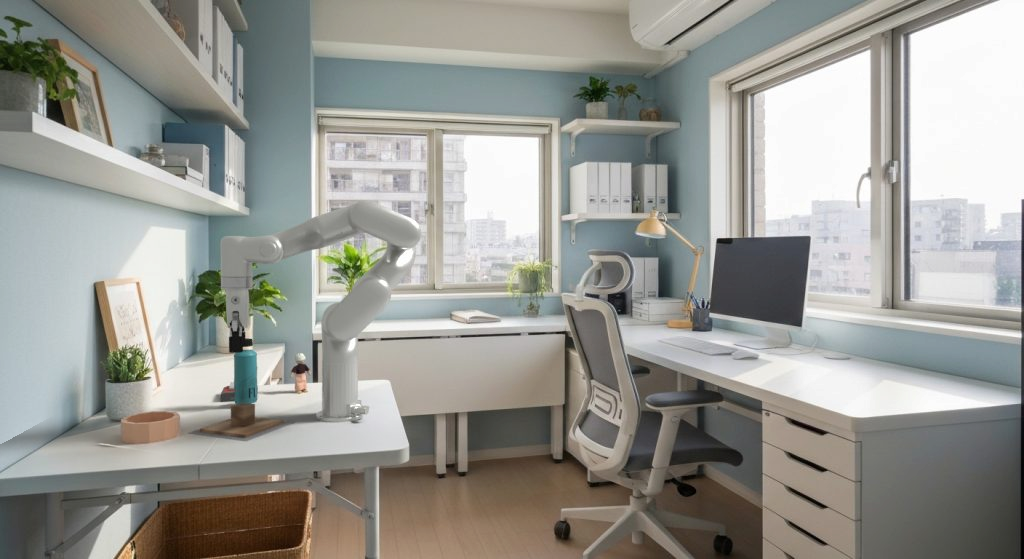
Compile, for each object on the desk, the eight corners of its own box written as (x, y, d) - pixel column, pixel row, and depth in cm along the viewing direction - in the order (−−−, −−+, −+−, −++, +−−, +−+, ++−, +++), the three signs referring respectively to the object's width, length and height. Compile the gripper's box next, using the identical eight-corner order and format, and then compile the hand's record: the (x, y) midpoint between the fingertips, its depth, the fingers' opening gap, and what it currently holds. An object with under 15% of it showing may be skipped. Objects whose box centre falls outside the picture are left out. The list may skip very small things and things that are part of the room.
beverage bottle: (249, 410, 182) (249, 340, 181) (228, 408, 183) (228, 339, 182) (262, 405, 188) (262, 337, 187) (242, 403, 190) (242, 336, 189)
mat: (295, 423, 168) (295, 422, 168) (246, 442, 151) (246, 441, 151) (240, 417, 174) (240, 415, 174) (187, 434, 157) (187, 433, 157)
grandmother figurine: (303, 389, 210) (303, 351, 210) (312, 390, 209) (312, 352, 208) (286, 394, 203) (286, 354, 203) (295, 395, 202) (295, 355, 201)
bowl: (190, 433, 158) (190, 413, 158) (148, 447, 147) (148, 425, 146) (153, 428, 162) (153, 409, 162) (109, 441, 150) (109, 420, 150)
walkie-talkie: (250, 402, 193) (254, 389, 212) (250, 388, 193) (254, 375, 212) (219, 404, 190) (225, 390, 209) (219, 389, 190) (225, 377, 209)
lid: (283, 423, 167) (283, 401, 167) (245, 437, 154) (245, 414, 153) (240, 418, 171) (240, 397, 171) (199, 431, 158) (199, 408, 158)
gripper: (250, 285, 158) (251, 354, 159) (254, 282, 174) (254, 344, 175) (217, 285, 155) (218, 355, 156) (224, 282, 172) (224, 345, 173)
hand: (237, 349), depth 166 cm, fingers open, 9 cm apart
